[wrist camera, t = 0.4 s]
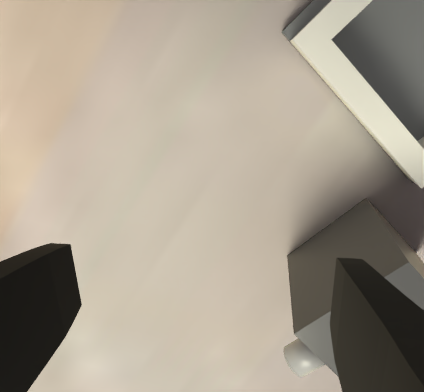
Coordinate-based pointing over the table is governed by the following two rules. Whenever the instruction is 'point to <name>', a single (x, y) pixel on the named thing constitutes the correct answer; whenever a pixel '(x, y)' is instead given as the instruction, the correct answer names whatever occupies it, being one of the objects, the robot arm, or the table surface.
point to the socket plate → (372, 68)
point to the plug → (325, 271)
